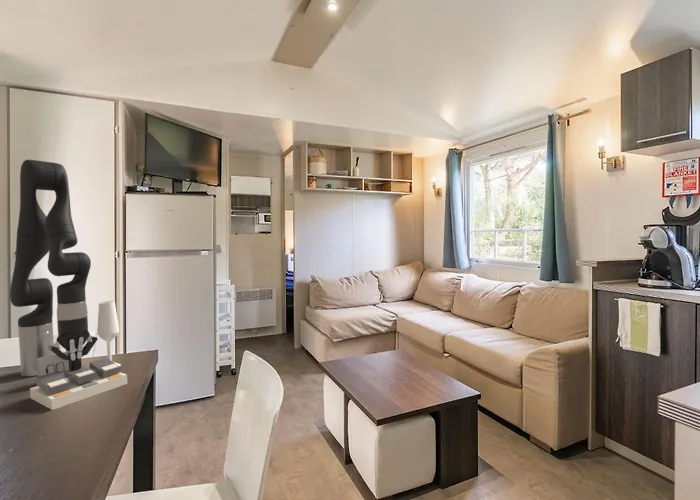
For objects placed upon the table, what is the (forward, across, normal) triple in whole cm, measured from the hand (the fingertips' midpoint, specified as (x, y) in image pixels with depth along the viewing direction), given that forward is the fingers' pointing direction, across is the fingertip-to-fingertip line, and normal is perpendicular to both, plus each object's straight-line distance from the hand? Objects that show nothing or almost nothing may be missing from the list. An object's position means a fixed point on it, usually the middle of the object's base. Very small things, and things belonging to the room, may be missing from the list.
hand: (75, 370), depth 114 cm
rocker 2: (+1, -7, +3) cm, 8 cm away
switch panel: (+6, 0, +3) cm, 6 cm away
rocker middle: (+1, 0, +3) cm, 3 cm away
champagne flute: (+6, -15, -11) cm, 19 cm away
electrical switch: (+6, +1, -13) cm, 14 cm away
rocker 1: (+1, +7, +3) cm, 8 cm away
